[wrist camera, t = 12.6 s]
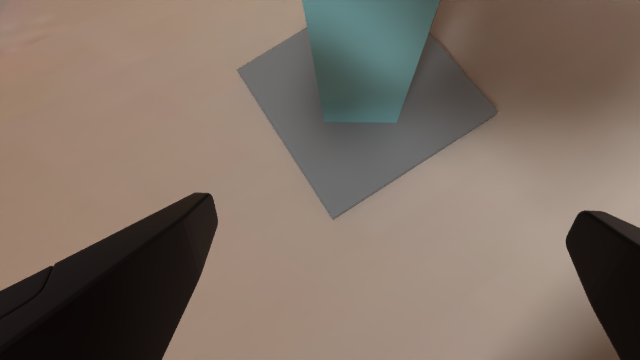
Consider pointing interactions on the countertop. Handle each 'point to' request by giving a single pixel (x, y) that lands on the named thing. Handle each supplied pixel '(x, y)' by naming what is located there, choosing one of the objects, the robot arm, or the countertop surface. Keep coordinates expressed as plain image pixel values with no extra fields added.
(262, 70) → the slate mat
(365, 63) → the teal block
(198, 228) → the robot arm
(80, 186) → the countertop surface
